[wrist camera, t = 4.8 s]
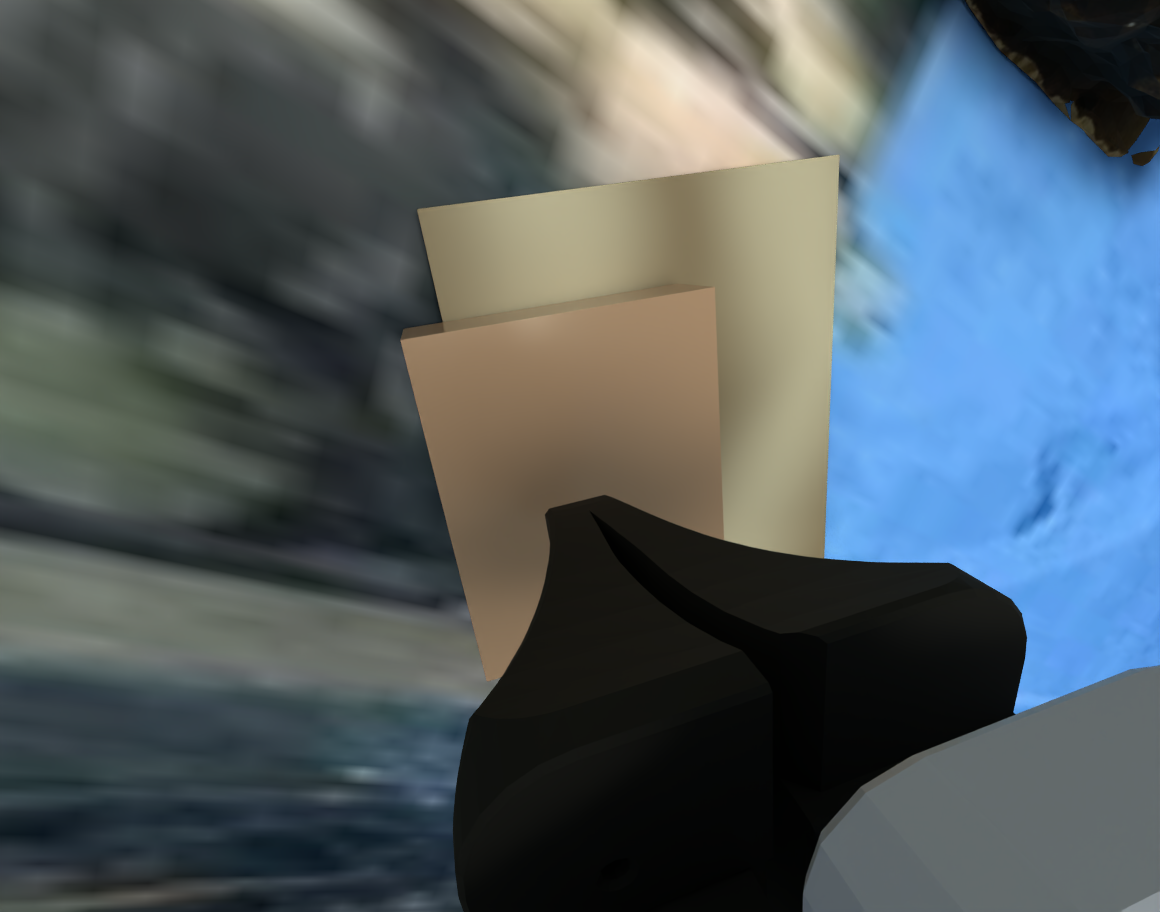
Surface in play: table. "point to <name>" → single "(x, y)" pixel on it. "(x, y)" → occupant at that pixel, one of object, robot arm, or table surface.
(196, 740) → the table surface
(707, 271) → the board
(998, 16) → the pine cone
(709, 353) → the block
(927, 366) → the table surface
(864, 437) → the table surface
